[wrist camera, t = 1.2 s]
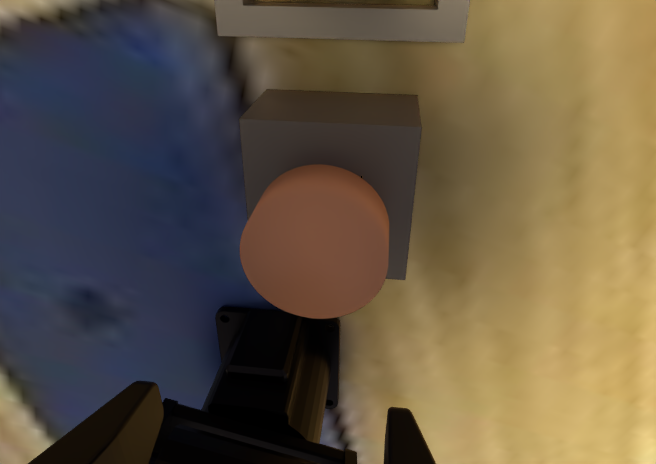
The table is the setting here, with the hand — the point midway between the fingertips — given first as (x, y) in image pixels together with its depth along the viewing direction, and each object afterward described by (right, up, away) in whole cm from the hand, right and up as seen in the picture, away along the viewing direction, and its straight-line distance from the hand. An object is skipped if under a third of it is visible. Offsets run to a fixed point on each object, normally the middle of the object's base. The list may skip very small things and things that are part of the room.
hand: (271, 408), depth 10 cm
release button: (+1, +5, +9) cm, 10 cm away
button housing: (+2, +6, +11) cm, 13 cm away
